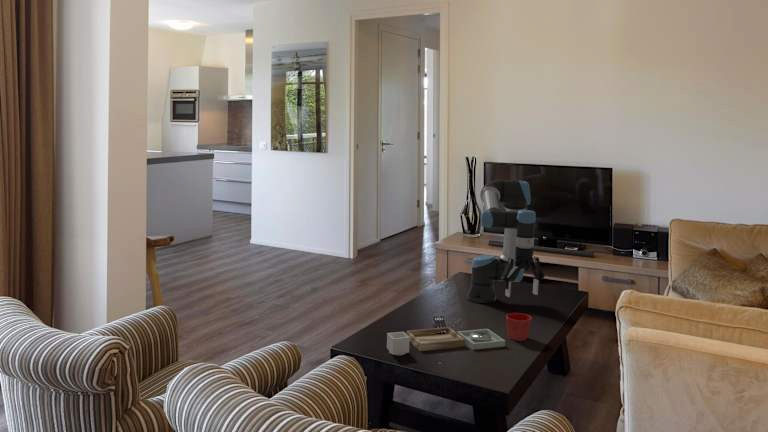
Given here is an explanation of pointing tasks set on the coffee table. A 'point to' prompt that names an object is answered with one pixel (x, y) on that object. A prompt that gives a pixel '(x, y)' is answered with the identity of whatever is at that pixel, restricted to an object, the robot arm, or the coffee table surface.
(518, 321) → the flower pot
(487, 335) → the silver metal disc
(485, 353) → the coffee table surface
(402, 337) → the white faceted planter
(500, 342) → the pale green square tray
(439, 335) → the wooden tray
